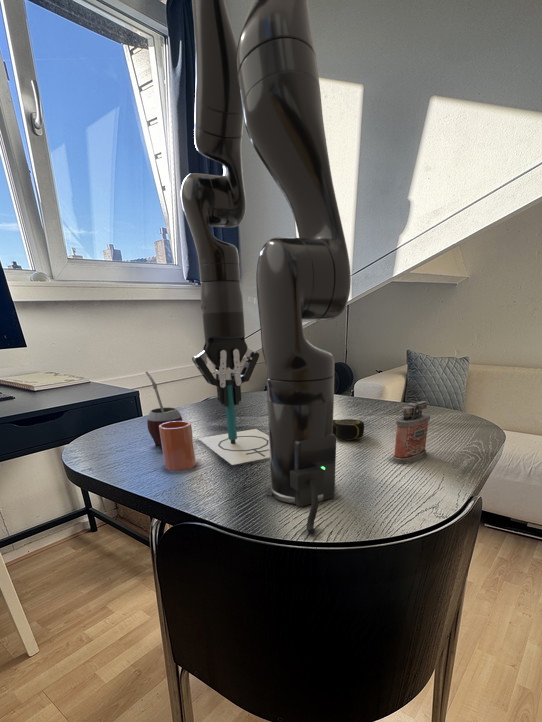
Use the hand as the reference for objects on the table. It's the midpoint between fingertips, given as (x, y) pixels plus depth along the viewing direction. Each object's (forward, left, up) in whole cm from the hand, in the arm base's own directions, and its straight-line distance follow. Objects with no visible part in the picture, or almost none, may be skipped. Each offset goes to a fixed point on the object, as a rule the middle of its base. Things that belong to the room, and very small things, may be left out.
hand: (230, 404), depth 82 cm
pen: (0, 0, -8) cm, 8 cm away
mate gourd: (+6, +12, -9) cm, 16 cm away
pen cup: (-7, +13, -9) cm, 17 cm away
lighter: (-25, -25, -9) cm, 36 cm away
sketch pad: (-2, -2, -9) cm, 9 cm away
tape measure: (-8, -23, -9) cm, 26 cm away
